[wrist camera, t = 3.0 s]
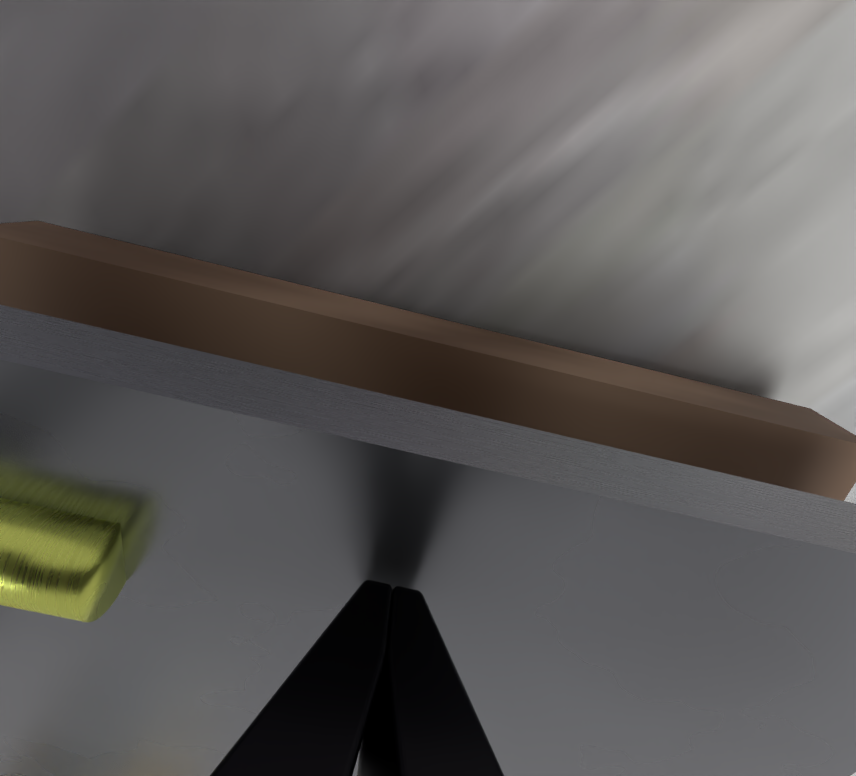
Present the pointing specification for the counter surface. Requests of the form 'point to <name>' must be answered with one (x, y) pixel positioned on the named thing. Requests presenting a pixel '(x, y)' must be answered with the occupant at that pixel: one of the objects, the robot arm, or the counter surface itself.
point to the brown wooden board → (419, 358)
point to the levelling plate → (392, 571)
